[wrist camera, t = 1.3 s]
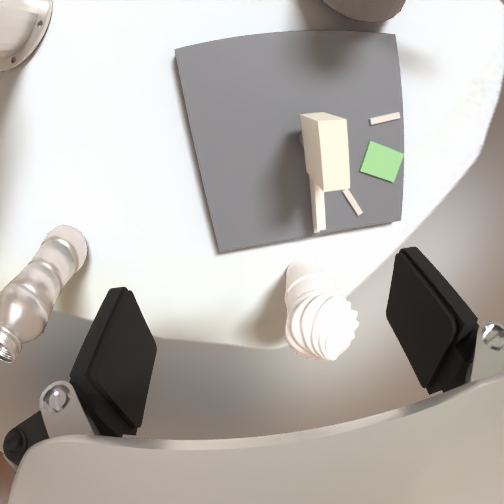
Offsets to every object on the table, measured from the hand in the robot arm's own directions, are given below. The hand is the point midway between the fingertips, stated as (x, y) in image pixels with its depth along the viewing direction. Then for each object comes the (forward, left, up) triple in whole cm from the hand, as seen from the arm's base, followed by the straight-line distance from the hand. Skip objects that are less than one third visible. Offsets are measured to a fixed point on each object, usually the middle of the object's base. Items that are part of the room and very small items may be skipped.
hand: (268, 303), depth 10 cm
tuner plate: (0, +8, -25) cm, 26 cm away
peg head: (+3, +8, -23) cm, 25 cm away
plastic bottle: (+7, -24, -25) cm, 36 cm away
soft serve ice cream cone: (+18, +6, -25) cm, 31 cm away
